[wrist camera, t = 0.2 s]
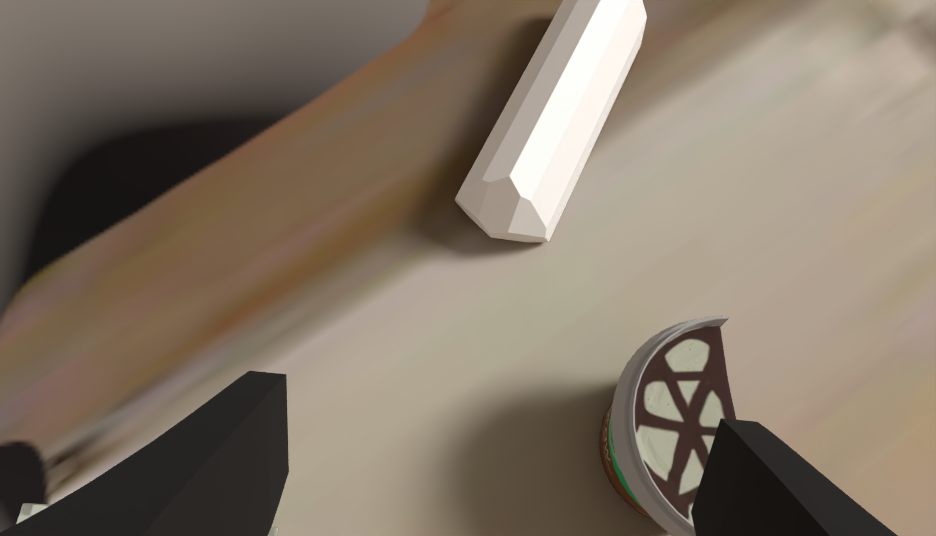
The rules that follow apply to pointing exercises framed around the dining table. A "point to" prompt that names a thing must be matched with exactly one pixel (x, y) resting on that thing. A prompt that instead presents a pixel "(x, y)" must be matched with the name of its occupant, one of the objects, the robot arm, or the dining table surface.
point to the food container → (667, 421)
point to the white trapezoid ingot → (553, 120)
